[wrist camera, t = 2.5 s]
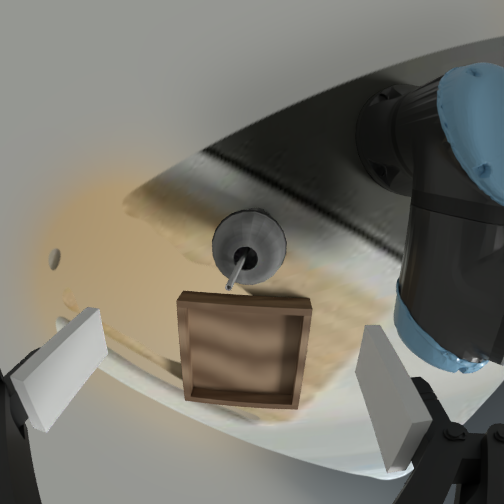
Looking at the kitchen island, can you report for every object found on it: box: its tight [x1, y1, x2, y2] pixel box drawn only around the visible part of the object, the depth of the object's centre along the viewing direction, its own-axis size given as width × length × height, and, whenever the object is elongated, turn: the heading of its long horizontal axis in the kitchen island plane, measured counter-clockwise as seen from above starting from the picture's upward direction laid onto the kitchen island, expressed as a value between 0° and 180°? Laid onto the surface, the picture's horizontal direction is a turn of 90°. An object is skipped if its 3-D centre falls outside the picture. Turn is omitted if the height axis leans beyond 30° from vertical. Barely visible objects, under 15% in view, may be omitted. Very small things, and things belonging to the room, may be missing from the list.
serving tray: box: [177, 291, 312, 409], centre depth 46 cm, size 18×18×4 cm
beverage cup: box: [212, 208, 287, 291], centre depth 33 cm, size 7×7×20 cm
